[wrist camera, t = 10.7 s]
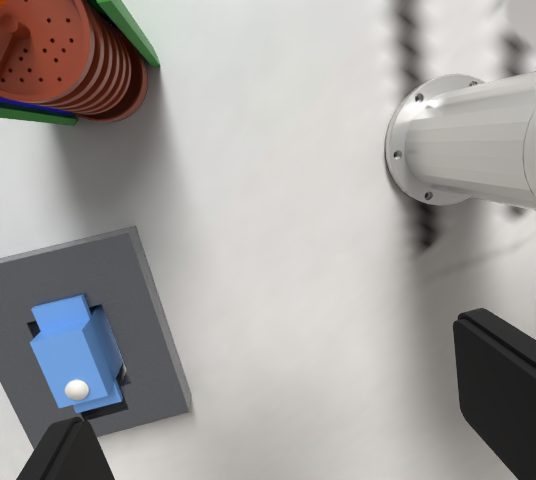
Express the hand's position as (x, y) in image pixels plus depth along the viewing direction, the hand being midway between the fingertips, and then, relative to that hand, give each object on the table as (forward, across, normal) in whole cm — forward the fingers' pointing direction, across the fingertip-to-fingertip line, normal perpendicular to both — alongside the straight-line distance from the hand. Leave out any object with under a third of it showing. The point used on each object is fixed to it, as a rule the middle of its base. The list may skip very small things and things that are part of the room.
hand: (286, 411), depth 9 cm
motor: (+28, +9, -15) cm, 33 cm away
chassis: (+28, +18, +9) cm, 35 cm away
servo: (+28, +18, +9) cm, 35 cm away
